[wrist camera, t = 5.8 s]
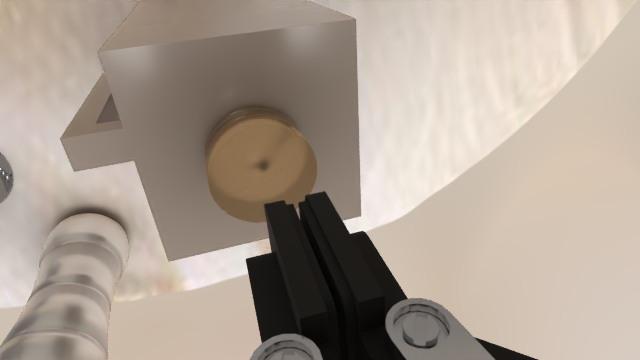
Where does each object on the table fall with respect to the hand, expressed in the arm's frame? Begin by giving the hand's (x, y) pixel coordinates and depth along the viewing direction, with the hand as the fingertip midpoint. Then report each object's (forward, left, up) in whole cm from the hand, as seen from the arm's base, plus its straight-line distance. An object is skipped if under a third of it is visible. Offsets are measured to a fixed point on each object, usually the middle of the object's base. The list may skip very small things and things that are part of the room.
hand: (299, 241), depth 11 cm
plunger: (0, 0, -24) cm, 24 cm away
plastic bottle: (+14, +14, -26) cm, 33 cm away
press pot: (+2, 0, -25) cm, 25 cm away
